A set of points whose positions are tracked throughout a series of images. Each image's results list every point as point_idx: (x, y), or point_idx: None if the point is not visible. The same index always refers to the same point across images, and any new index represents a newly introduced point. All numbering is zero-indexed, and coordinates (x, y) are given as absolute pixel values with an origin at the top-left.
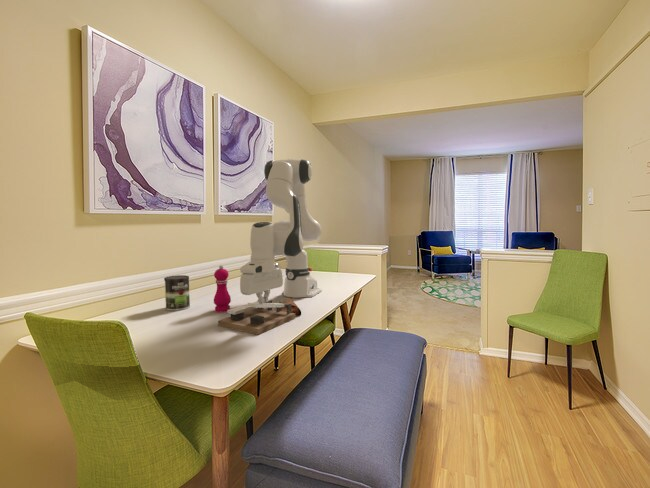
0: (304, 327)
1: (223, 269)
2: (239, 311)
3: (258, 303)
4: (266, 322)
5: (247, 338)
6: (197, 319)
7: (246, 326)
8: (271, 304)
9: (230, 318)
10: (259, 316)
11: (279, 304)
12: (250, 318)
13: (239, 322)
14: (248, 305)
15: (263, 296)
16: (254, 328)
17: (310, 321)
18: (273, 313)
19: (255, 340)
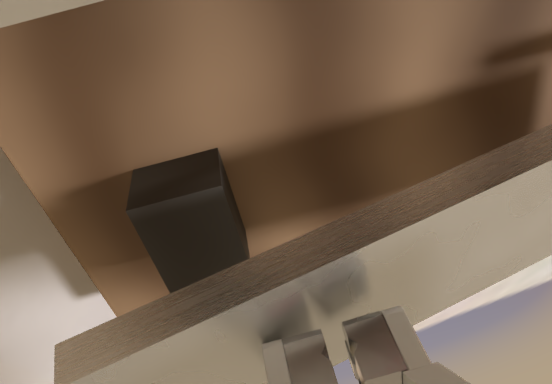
0: (421, 324)
1: None
2: (34, 13)
3: (240, 358)
4: (266, 235)
5: (21, 295)
6: None
7: (57, 221)
8: (411, 323)
9: None
10: (222, 247)
11: (547, 253)
12: (129, 205)
13: (33, 62)
14: (62, 364)
15: (408, 378)
16: (101, 291)
17: (540, 272)
18: (534, 45)
19: (59, 341)
